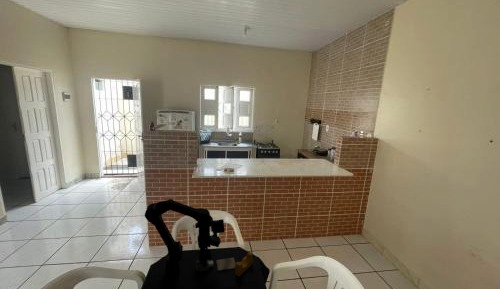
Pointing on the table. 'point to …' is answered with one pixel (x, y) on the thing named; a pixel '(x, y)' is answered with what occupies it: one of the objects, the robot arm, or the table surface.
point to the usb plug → (200, 267)
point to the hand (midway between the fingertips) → (203, 260)
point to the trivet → (225, 264)
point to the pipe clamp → (244, 264)
